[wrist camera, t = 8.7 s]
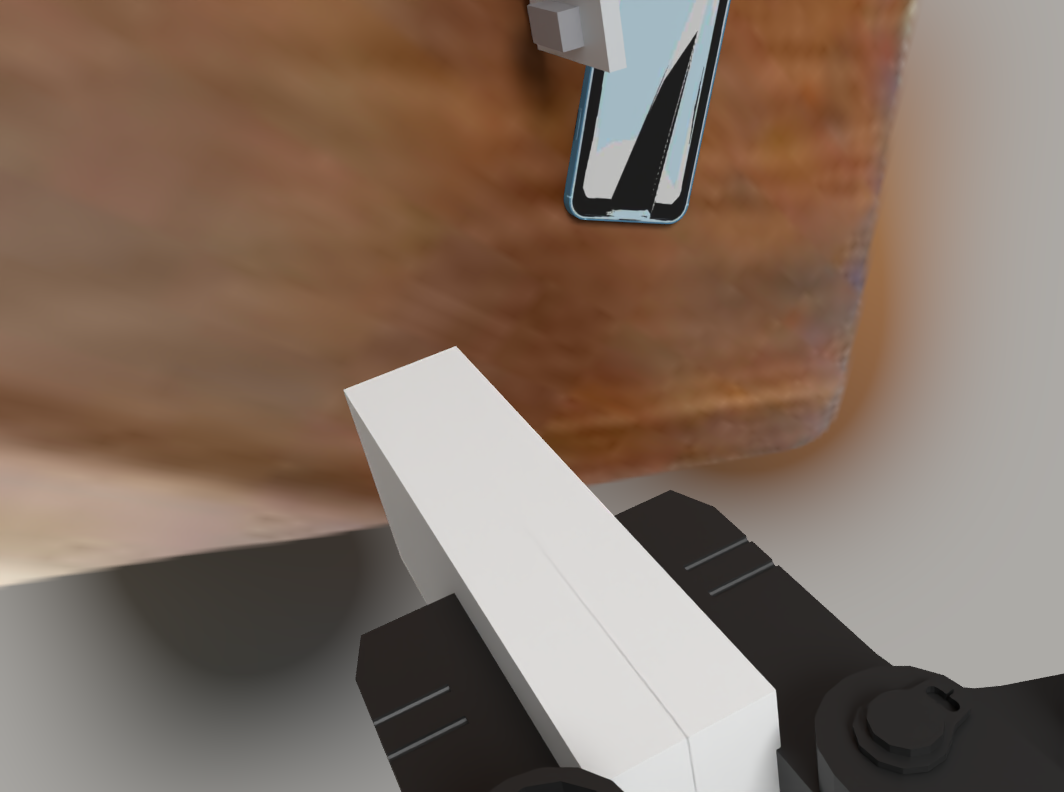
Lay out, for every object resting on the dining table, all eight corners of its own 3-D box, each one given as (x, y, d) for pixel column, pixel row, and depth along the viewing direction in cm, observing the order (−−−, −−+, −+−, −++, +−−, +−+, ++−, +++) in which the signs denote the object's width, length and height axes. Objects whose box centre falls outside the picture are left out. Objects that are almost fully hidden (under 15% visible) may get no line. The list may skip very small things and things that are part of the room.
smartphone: (747, -77, 49) (685, 225, 54) (736, -77, 50) (675, 220, 55) (617, -105, 46) (565, 218, 51) (607, -105, 46) (557, 214, 52)
